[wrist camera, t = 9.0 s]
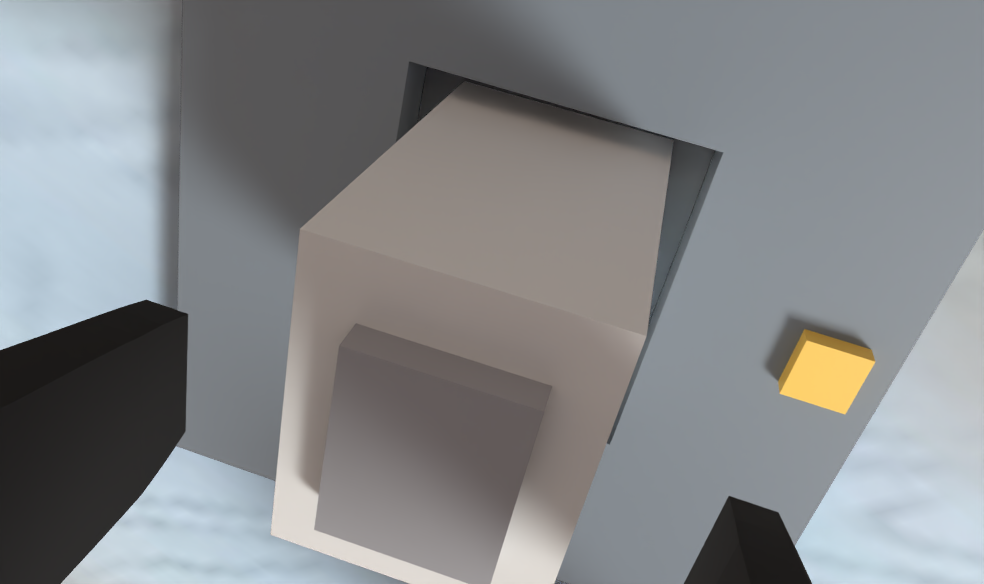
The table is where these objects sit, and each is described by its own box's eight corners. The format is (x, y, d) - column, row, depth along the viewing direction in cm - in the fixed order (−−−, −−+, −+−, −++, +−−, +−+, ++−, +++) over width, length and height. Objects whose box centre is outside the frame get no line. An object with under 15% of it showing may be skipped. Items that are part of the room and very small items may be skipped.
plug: (673, 140, 15) (643, 360, 8) (598, 359, 17) (530, 659, 11) (464, 80, 15) (280, 247, 9) (421, 303, 18) (253, 560, 11)
